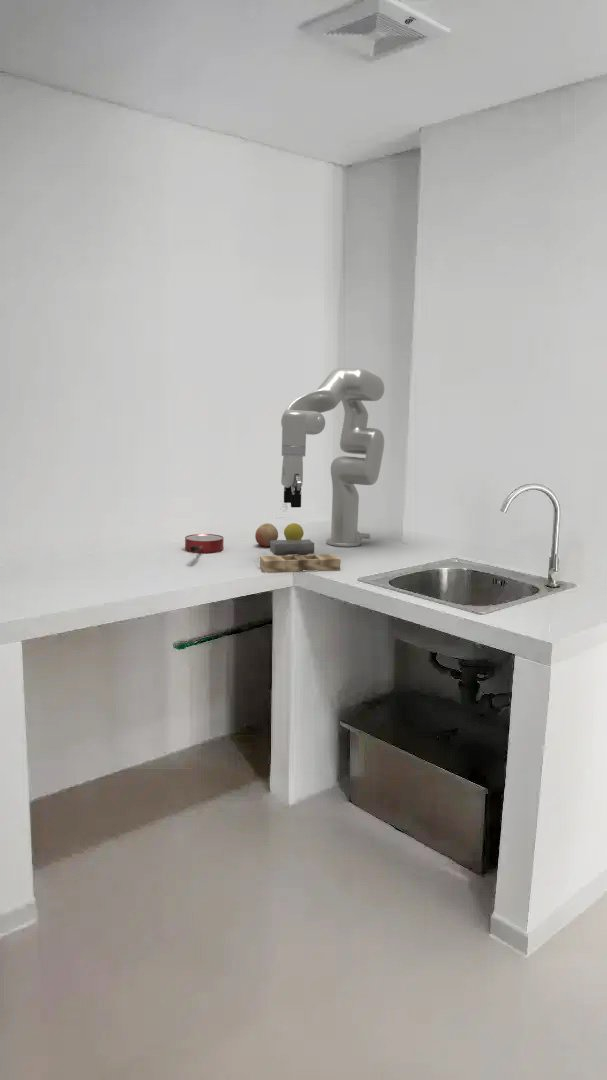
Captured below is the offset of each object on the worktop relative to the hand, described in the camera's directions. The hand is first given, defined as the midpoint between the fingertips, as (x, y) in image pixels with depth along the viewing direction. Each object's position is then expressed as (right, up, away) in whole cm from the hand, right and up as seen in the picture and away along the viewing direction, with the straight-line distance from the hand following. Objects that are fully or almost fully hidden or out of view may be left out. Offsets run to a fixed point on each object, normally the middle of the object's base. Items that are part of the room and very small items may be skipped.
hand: (292, 504), depth 254 cm
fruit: (-9, -14, +27) cm, 31 cm away
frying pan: (-30, -17, +9) cm, 35 cm away
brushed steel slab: (0, -18, +4) cm, 19 cm away
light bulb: (0, -16, +18) cm, 24 cm away
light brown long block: (+3, -20, -6) cm, 21 cm away
